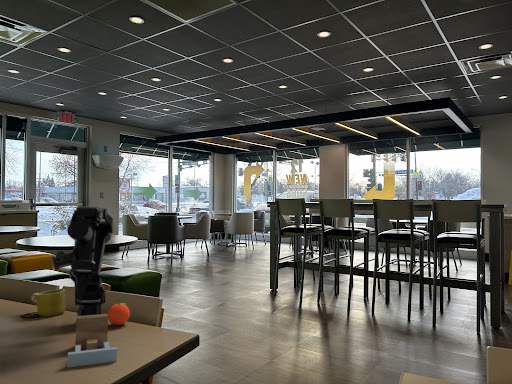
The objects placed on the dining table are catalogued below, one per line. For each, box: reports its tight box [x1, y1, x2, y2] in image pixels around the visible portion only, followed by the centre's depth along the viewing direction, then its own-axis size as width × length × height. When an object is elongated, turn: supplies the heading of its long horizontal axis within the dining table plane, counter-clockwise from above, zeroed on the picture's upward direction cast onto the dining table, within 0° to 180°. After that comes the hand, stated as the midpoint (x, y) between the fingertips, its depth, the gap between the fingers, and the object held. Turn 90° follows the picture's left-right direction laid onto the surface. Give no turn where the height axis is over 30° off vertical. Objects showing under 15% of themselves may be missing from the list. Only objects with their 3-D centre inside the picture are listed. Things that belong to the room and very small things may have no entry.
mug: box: [30, 288, 66, 317], centre depth 141 cm, size 12×10×10 cm
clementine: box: [107, 302, 132, 326], centre depth 128 cm, size 8×7×7 cm
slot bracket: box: [66, 341, 118, 368], centre depth 97 cm, size 6×11×3 cm, turn 114°
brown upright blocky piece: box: [74, 313, 109, 351], centre depth 104 cm, size 9×8×8 cm
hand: (78, 298), depth 115 cm, fingers open, 9 cm apart
